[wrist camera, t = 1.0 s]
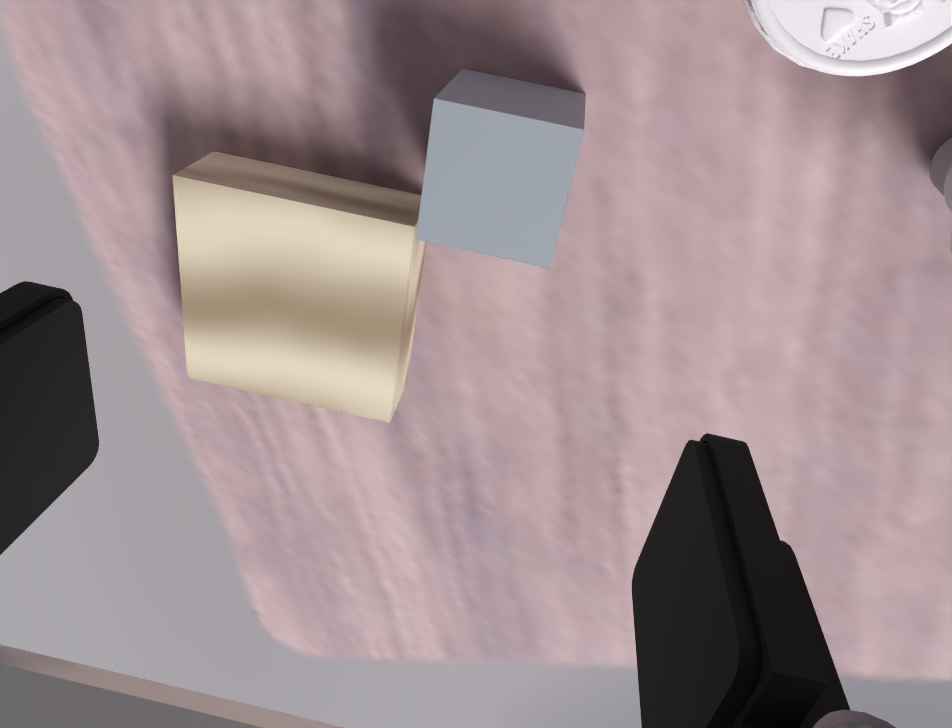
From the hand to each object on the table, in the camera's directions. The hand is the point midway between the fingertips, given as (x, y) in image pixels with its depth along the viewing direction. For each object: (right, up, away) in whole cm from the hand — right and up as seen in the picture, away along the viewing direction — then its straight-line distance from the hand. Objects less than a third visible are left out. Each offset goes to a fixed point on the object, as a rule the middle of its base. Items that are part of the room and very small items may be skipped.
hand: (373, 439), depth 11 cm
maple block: (-6, +6, +23) cm, 25 cm away
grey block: (+3, +10, +18) cm, 21 cm away
